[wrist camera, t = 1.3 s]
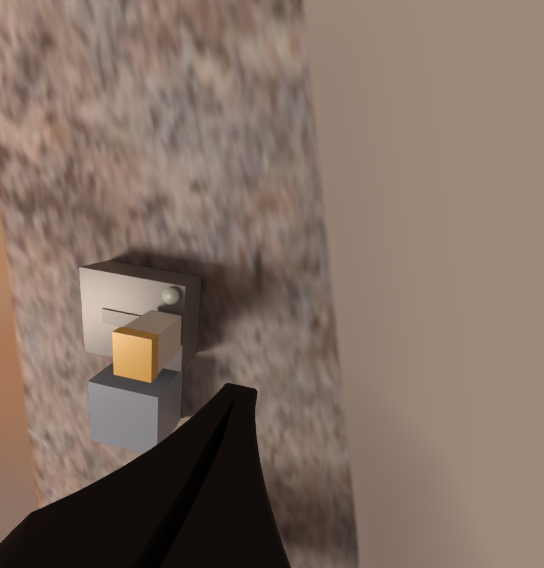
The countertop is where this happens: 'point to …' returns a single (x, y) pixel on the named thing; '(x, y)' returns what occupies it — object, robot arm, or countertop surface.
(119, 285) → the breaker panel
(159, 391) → the cap
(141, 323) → the handle
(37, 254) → the countertop surface
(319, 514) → the countertop surface
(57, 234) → the countertop surface
